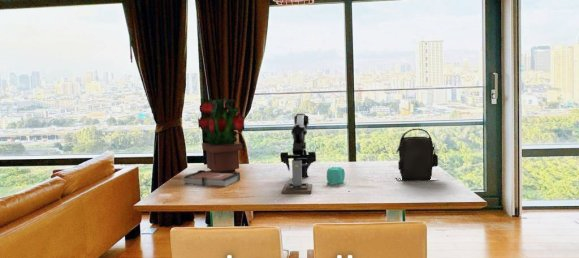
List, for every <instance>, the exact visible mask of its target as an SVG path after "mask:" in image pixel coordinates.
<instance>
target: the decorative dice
mask: <svg viewBox="0 0 579 258" xmlns="http://www.w3.org/2000/svg"><path fill="white" fill-rule="evenodd" d="M345 176H346V173H345V169H344V168H343V167H341V166H331V167H328V168H327V170H326V180H327V182H328V184H331V185H342V184H343V183H344V181H345V178H346V177H345Z"/></svg>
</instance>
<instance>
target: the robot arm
mask: <svg viewBox="0 0 579 258" xmlns="http://www.w3.org/2000/svg"><path fill="white" fill-rule="evenodd" d="M293 117H294V121H293V123H294V125H293V127H292V128H291V132H290V133H291V135H292V139H293V144H292V154H289V152H288V151H283V152H280V154H279V155H280V162H281V163H283V164H286V167H287V170H288V172H290V170H291V168H290V160H289V159H291V160H302V178H309V175H308V170H309V168H310V166H311V165H312V164H313V163H314V162H316V161H317V153H316V152H315V151H308V152H307V143H306V142H305V139H306V136H307V134H308V130H307V129H308V125H309V121H310V119H309V116H308V115H306V114H305V113H302V112H301V113H296V115H294V116H293Z"/></svg>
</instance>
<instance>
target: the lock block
mask: <svg viewBox="0 0 579 258" xmlns="http://www.w3.org/2000/svg"><path fill="white" fill-rule="evenodd" d="M291 160H292V161H291V166H292V167H291V170H292V183H293V188H298V187H302V183H303V177H302V160H293V159H291Z"/></svg>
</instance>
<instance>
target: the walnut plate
mask: <svg viewBox="0 0 579 258" xmlns="http://www.w3.org/2000/svg"><path fill="white" fill-rule="evenodd" d="M283 185H284V186H283V187H282V189H281V190H282V191H281V194H282V195H307V194H309V195H310V194H312V192H313V191H312V190H313V183H308V182H302V187H298V188H293V182H292V183H290V182H289V183H286V184H283Z"/></svg>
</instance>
